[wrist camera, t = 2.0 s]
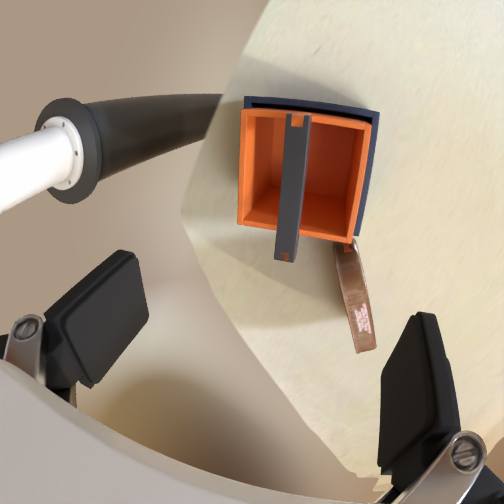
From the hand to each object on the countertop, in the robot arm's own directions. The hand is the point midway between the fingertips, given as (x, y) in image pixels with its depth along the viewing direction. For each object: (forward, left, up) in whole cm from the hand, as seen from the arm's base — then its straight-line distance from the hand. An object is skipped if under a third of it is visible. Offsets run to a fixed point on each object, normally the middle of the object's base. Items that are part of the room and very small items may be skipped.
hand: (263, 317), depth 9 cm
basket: (-1, +1, -25) cm, 25 cm away
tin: (+7, -14, -26) cm, 30 cm away
